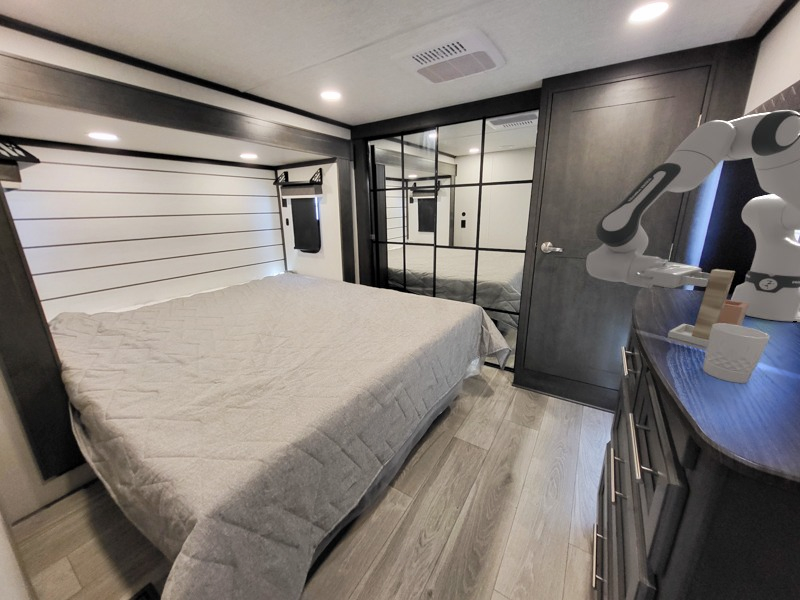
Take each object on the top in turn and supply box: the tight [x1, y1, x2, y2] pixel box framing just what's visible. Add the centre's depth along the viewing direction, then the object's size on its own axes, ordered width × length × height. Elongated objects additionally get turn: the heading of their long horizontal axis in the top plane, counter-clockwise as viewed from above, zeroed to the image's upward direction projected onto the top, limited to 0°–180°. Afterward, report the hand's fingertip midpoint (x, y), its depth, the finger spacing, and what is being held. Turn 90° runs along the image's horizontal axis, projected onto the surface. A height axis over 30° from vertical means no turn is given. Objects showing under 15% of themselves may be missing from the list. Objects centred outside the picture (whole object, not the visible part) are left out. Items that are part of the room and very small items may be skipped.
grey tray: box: [666, 323, 708, 352], centre depth 79 cm, size 11×11×2 cm
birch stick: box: [692, 268, 736, 340], centre depth 77 cm, size 3×3×18 cm
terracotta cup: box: [718, 298, 749, 326], centre depth 86 cm, size 7×7×9 cm
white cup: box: [701, 323, 771, 384], centre depth 63 cm, size 8×8×10 cm
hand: (713, 281), depth 76 cm, fingers open, 8 cm apart
